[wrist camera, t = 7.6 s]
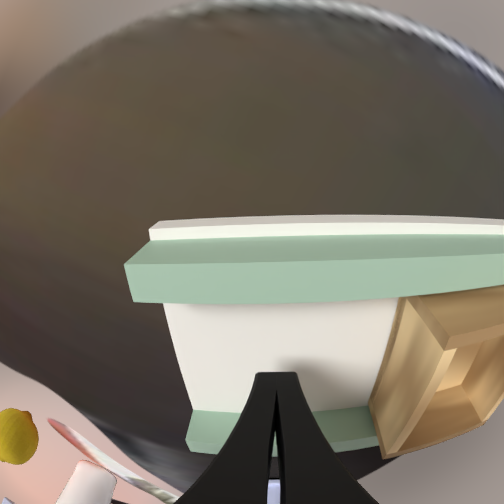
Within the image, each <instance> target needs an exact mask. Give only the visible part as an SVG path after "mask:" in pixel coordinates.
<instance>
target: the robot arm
mask: <svg viewBox="0 0 504 504" xmlns="http://www.w3.org/2000/svg"><path fill="white" fill-rule="evenodd" d="M275 434H276V444H277V455H278V466H279V477H280V480H269V475H270V468H271V460H272V453H273V445H274V437H275ZM2 504H15V503H14V502H12V501H11V500H9V499H8V498H6V497H5V498H4V500H3V502H2ZM173 504H379V503H378V502H377V501H376V500H375V499H373V498H372V497H371V496H370V494H369V493H368V492H367V491H366V490H365V489H364V488H363V487H362V486H361V485H360V484H359V483H358V482H357V481H356V479H355V478H354V477H353V476H352V475H351V473H350V472H349V471H348V470H347V468H346V467H345V466H344V464H343V463H342V462H341V460H340V459H339V458H338V456H337V455H336V453H335V452H334V450H333V449H332V447H331V446H330V444H329V443H328V441H327V439H326V438H325V436H324V434H323V433H322V431H321V429H320V427H319V426H318V424H317V422H316V420H315V418H314V416H313V414H312V412H311V410H310V408H309V405H308V403H307V401H306V398H305V396H304V394H303V391H302V388H301V385H300V382H299V379H298V375H297V373H296V372H258V373H256V374H255V378H254V382H253V386H252V389H251V392H250V394H249V397H248V399H247V402H246V404H245V407H244V409H243V411H242V413H241V415H240V417H239V419H238V421H237V423H236V425H235V427H234V428H233V430H232V432H231V434H230V435H229V437H228V439H227V440H226V442H225V444H224V445H223V447H222V448H221V450H220V451H219V453H218V454H217V456H216V457H215V458H214V460H213V461H212V462H211V464H210V465H209V466H208V468H207V469H206V470H205V471H204V472H203V474H202V475H201V476H200V477H199V478H198V479H197V481H196V482H195V483H194V484H193V485H192V486H191V487H190V488H189V489H188V490H187V491H186V492H185V493H184V494H183V495H182V496H181V497H180V498H179V499H178V500H177V501H176V502H175V503H173Z"/></svg>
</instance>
